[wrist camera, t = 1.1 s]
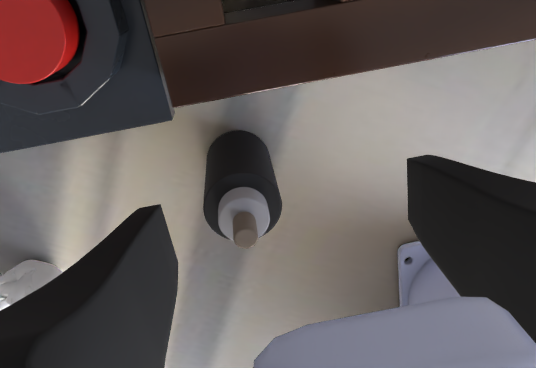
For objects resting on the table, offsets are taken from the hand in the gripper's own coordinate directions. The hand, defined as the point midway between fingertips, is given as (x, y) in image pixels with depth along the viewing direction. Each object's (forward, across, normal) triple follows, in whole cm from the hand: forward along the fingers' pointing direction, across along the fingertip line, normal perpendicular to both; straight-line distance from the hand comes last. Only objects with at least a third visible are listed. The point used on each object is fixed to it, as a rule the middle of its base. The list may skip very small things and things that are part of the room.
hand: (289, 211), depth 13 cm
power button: (+7, +8, -6) cm, 12 cm away
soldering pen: (+10, +2, +2) cm, 10 cm away
